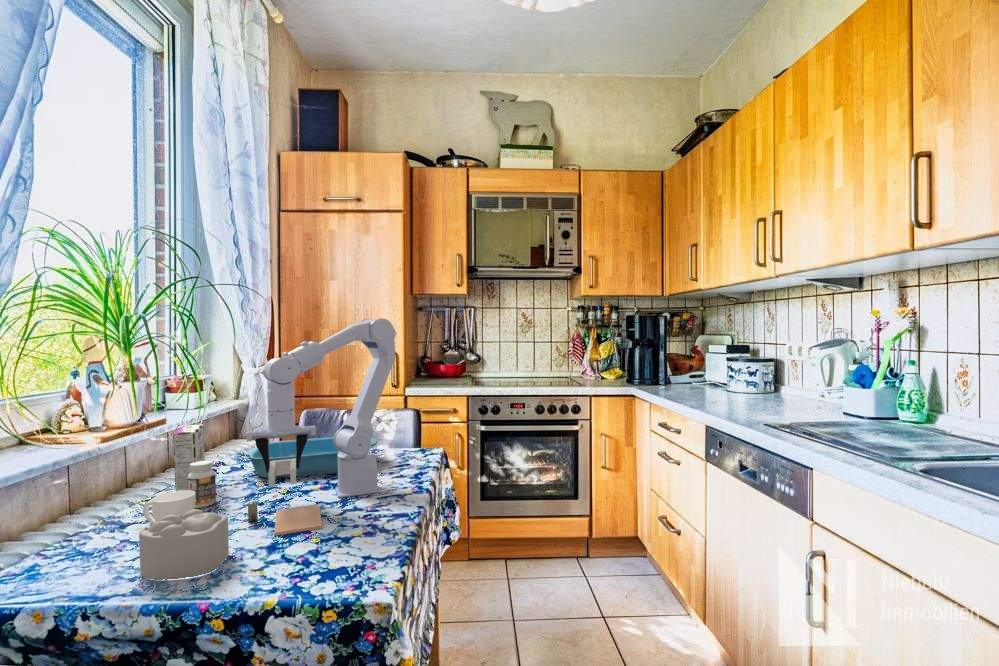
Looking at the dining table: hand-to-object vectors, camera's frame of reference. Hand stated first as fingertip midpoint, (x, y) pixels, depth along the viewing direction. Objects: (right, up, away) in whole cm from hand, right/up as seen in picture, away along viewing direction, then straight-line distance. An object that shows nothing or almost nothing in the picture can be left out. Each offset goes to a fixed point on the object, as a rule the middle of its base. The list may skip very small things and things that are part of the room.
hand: (283, 469), depth 118 cm
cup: (-19, -10, -11) cm, 24 cm away
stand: (-3, -9, -8) cm, 13 cm away
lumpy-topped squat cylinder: (-5, -10, -29) cm, 31 cm away
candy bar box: (-29, -10, +13) cm, 34 cm away
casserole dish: (-5, -9, +34) cm, 36 cm away
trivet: (+7, -9, -8) cm, 14 cm away
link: (0, -2, -1) cm, 2 cm away
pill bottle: (-21, -10, +4) cm, 23 cm away
